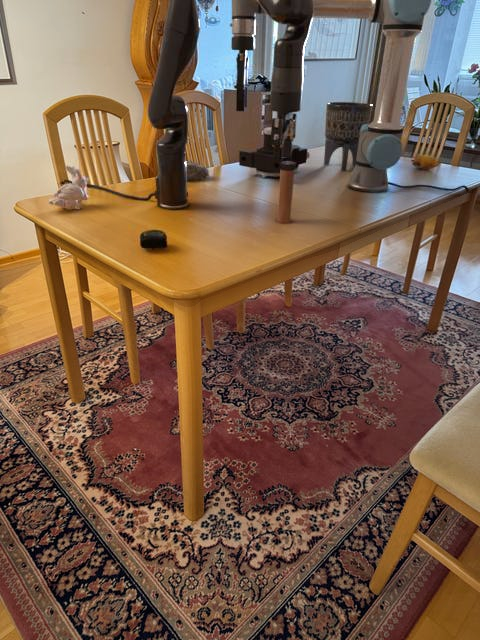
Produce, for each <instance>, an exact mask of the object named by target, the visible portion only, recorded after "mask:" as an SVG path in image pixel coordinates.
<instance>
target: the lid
mask: <svg viewBox="0 0 480 640" xmlns="http://www.w3.org/2000/svg"><path fill="white" fill-rule="evenodd" d="M280 169H282V170H295V169H296V163H295V162H292V161H282V162H281V163H280Z"/></svg>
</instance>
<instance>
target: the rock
mask: <svg viewBox="0 0 480 640" xmlns="http://www.w3.org/2000/svg"><path fill="white" fill-rule="evenodd" d="M186 172H187V182H196V181H197V182H198V181H202V179H205V178H207V177H210V173H209V172H210V171H209V169H208V168H207V167H206V166H205V165H202V164H200V163H196V162H193V161H192V160H188V161H186Z"/></svg>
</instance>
